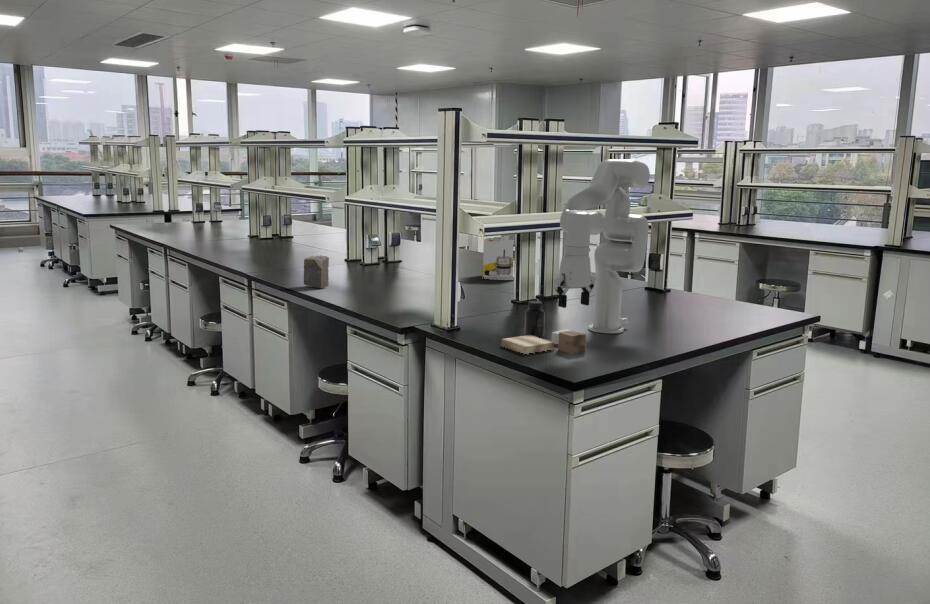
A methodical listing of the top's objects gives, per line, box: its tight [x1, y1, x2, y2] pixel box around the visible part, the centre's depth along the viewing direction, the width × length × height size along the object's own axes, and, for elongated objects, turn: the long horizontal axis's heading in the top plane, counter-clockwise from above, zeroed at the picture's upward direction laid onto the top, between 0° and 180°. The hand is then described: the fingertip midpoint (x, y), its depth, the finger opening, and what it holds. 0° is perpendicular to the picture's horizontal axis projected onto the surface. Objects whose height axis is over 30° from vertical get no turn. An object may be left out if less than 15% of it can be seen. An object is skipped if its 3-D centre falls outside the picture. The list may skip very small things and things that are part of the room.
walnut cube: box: [557, 329, 587, 355], centre depth 225 cm, size 6×6×6 cm
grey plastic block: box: [550, 328, 587, 345], centre depth 235 cm, size 8×8×4 cm
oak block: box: [500, 334, 555, 355], centre depth 228 cm, size 12×12×3 cm
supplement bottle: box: [524, 300, 546, 338], centre depth 244 cm, size 7×7×12 cm
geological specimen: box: [303, 255, 330, 289], centre depth 330 cm, size 11×6×15 cm, turn 61°
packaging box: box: [482, 236, 514, 278], centre depth 371 cm, size 16×16×25 cm
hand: (573, 305), depth 222 cm, fingers open, 9 cm apart
